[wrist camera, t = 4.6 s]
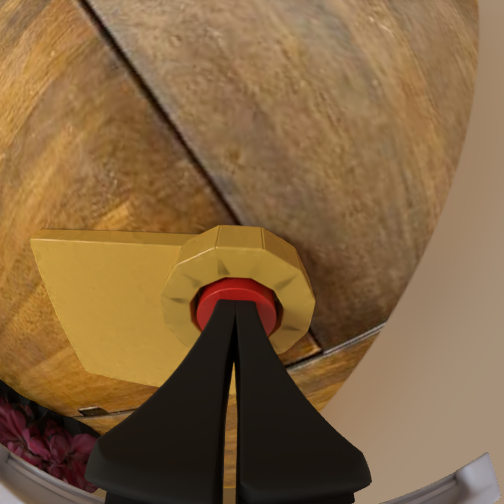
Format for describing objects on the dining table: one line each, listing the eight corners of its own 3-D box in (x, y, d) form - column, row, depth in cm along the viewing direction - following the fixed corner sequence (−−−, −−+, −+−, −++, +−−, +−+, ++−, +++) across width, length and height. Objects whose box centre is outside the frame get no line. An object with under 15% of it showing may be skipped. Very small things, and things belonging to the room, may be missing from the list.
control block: (311, 218, 11) (328, 252, 9) (277, 381, 17) (279, 418, 15) (36, 211, 11) (2, 236, 8) (91, 360, 17) (78, 390, 14)
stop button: (277, 263, 11) (281, 290, 9) (269, 318, 12) (271, 347, 11) (201, 259, 11) (193, 285, 9) (204, 315, 12) (199, 343, 11)
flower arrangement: (9, 407, 30) (-11, 458, 17) (-43, 344, 21) (-76, 402, 8) (131, 458, 31) (118, 529, 18) (80, 405, 22) (49, 514, 9)
